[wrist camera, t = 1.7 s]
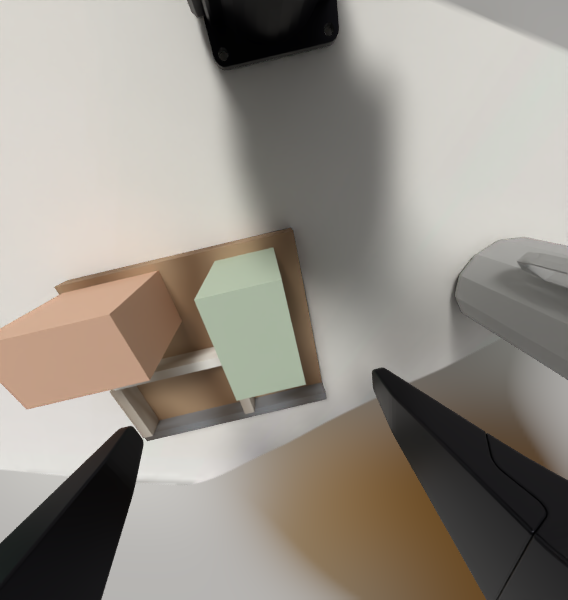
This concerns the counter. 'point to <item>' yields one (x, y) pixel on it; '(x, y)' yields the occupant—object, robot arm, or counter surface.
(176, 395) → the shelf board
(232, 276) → the tea box
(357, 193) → the counter surface
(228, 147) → the counter surface
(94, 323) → the rust box
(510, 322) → the water bottle
